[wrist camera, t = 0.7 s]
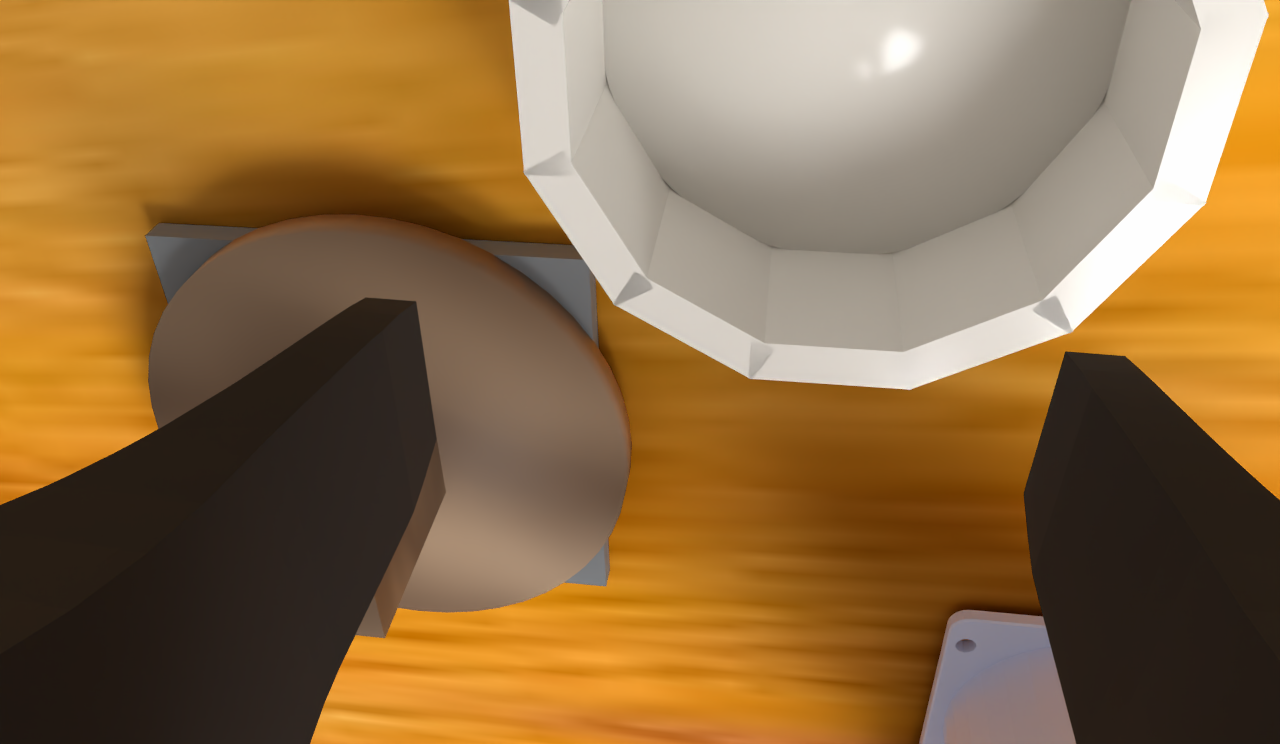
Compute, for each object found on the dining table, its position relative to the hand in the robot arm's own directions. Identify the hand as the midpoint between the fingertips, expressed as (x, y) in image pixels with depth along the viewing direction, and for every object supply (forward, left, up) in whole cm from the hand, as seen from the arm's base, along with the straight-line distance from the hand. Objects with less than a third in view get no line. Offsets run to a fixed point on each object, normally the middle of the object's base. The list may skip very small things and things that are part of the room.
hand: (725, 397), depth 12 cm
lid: (-9, +8, -9) cm, 15 cm away
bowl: (+1, -2, -10) cm, 10 cm away
